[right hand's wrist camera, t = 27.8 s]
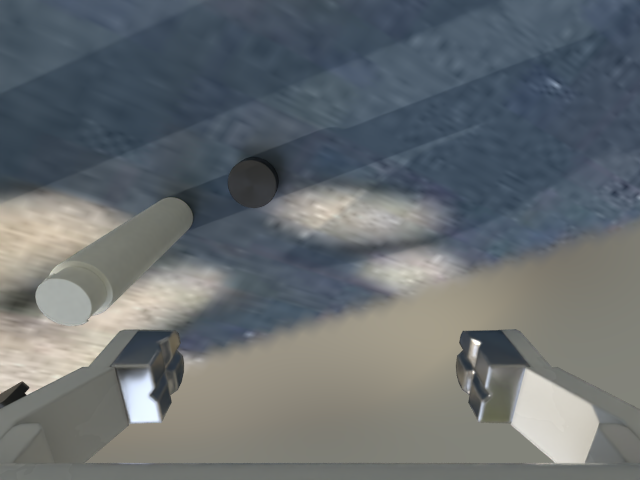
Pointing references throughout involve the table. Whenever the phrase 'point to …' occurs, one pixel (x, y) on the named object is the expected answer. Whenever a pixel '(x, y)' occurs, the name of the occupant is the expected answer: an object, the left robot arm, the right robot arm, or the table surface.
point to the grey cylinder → (111, 263)
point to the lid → (253, 182)
